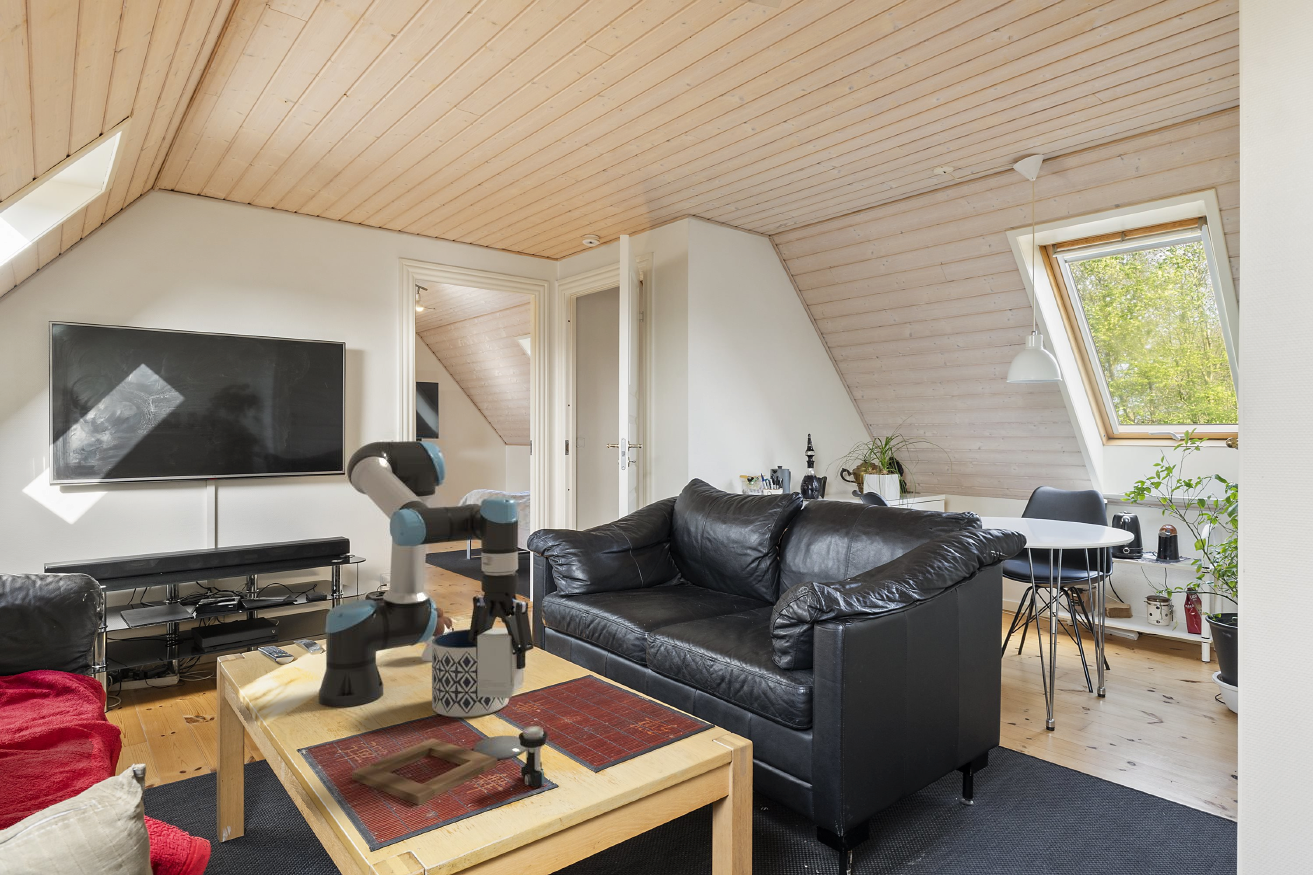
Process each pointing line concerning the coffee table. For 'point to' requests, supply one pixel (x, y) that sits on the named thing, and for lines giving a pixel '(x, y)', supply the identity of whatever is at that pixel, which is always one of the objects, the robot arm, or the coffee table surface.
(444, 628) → the figurine
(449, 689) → the planter
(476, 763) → the board
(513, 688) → the supplement box
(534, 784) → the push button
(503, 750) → the coaster
